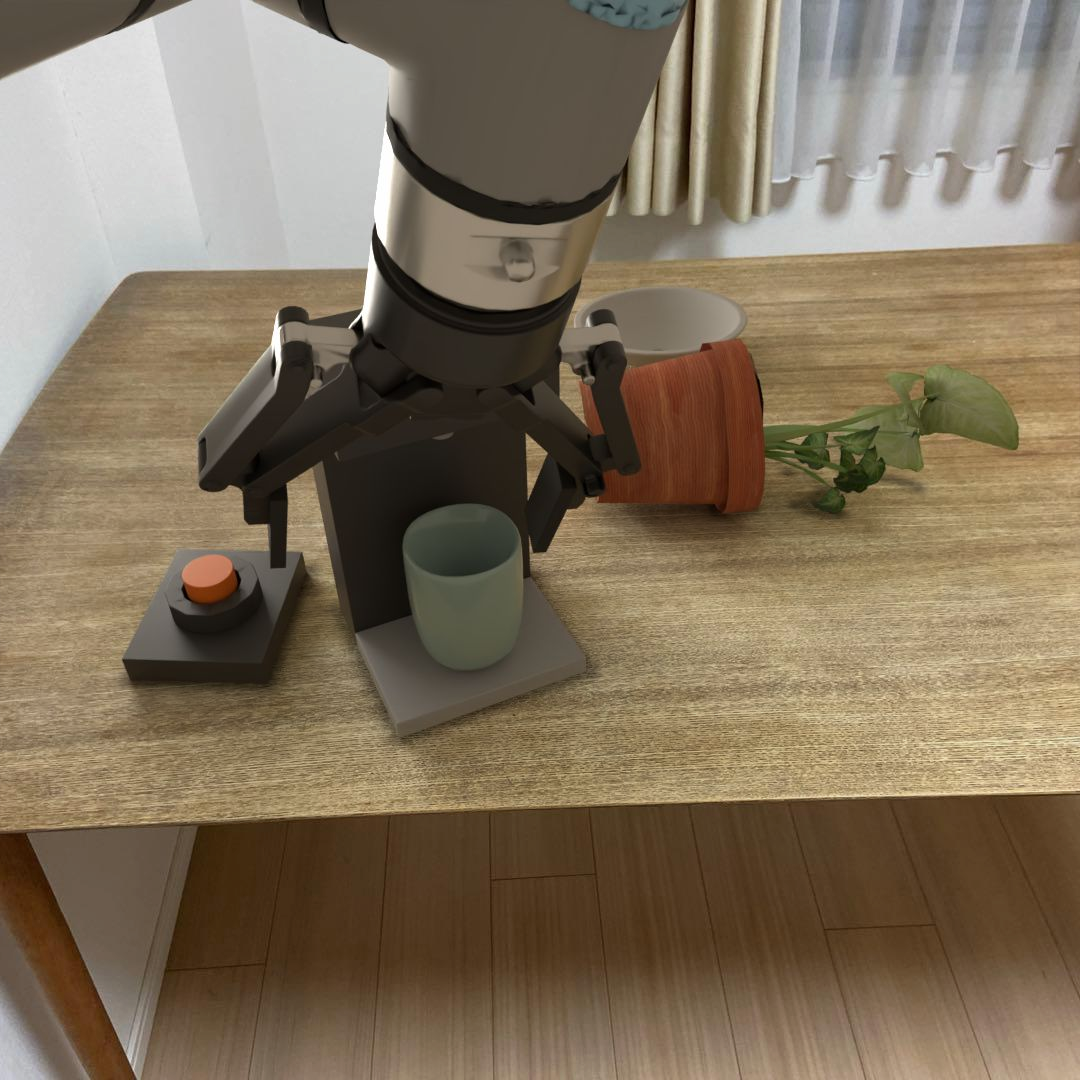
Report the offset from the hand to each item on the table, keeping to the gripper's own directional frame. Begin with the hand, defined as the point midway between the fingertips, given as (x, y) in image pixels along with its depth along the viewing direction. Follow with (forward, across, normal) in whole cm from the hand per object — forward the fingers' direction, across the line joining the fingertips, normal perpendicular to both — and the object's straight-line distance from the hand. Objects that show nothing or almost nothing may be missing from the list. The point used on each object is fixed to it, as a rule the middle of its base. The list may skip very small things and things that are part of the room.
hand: (410, 537), depth 53 cm
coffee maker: (+22, +7, +3) cm, 23 cm away
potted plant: (+22, +37, +14) cm, 45 cm away
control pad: (+27, -10, +8) cm, 30 cm away
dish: (+31, +34, +36) cm, 59 cm away
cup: (+20, +7, +1) cm, 21 cm away
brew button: (+24, -11, +10) cm, 28 cm away
